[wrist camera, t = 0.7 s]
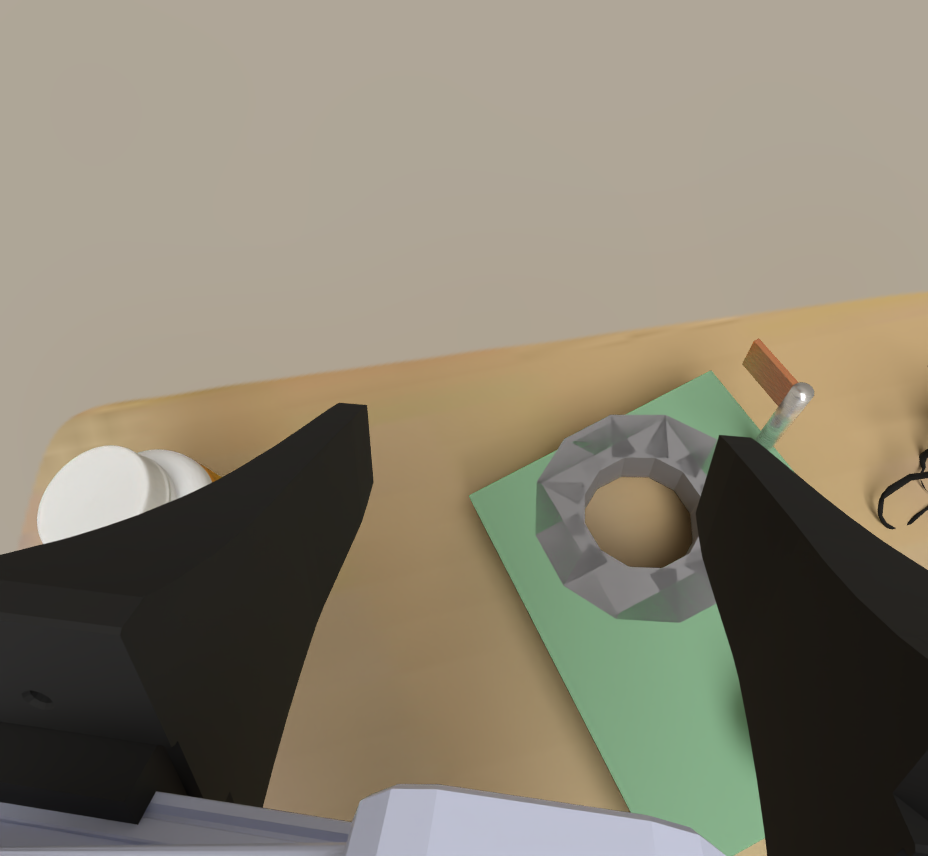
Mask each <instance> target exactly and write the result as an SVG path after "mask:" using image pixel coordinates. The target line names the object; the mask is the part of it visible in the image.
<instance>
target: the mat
mask: <svg viewBox="0 0 928 856" xmlns="http://www.w3.org/2000/svg"><path fill="white" fill-rule="evenodd" d="M760 432H761V431H760V430H759V428H758V427H757V426H756V425H755V424H754V422H753V421H752V420H751V419H750V417H749V416H748V415H747V414H746V413H745V411H744V410H743V409H742V408H741V406H740V405H739V404H738V403H737V402H736V400H735V399H734V398H733V397H732V395H731V394H730V393H729V392H728V391H727V389H726V388H725V387H724V386H723V384H722V383H721V382H720V381H719V380H718V378H717V377H716V376H715V375H714V373H713V372H712V371H709V372H707V373H705V374H703V375H701V376H699V377H697V378H695V379H693V380H691V381H689V382H687V383H686V384H684V385H682V386H680V387H678V388H676V389H674V390H672V391H670V392H668V393H666V394H664V395H662V396H660V397H658V398H656V399H655V400H653V401H651V402H649V403H647V404H645V405H643V406H641V407H639V408H637V409H635V410H633V411H631V412H629V413H627V414H626V415H610V416H608V417H606V418H604V419H602V420H600V421H598V422H596V423H594V424H592V425H590V426H588V427H586V428H584V429H582V430H580V431H579V432H577V433H575V434H573V435H571V436H569V437H567V438H565V439H564V440H563V442H562V443H561V445H560V446H559V448H558V449H557V450H556V451H554V452H552V453H550V454H548V455H546V456H544V457H542V458H540V459H538V460H537V461H535V462H533V463H531V464H529V465H527V466H525V467H523V468H521V469H519V470H517V471H515V472H513V473H511V474H509V475H508V476H506V477H504V478H502V479H500V480H498V481H496V482H494V483H492V484H490V485H488V486H486V487H484V488H482V489H480V490H479V491H477V492H475V493H473V494H471V495H469V497H470V499H471V501H472V503H473V505H474V507H475V509H476V511H477V513H478V515H479V517H480V519H481V521H482V523H483V525H484V527H485V529H486V531H487V533H488V535H489V537H490V539H491V541H492V543H493V544H494V546H495V548H496V550H497V552H498V554H499V556H500V558H501V560H502V562H503V564H504V566H505V568H506V570H507V572H508V574H509V576H510V578H511V580H512V582H513V584H514V585H515V587H516V589H517V591H518V593H519V595H520V597H521V599H522V601H523V603H524V605H525V607H526V609H527V611H528V613H529V615H530V617H531V619H532V621H533V623H534V625H535V626H536V628H537V630H538V632H539V634H540V636H541V638H542V640H543V642H544V644H545V646H546V648H547V650H548V652H549V654H550V656H551V658H552V660H553V662H554V664H555V666H556V667H557V669H558V671H559V673H560V675H561V677H562V679H563V681H564V683H565V685H566V687H567V689H568V691H569V693H570V695H571V697H572V699H573V701H574V703H575V705H576V707H577V708H578V710H579V712H580V714H581V716H582V718H583V720H584V722H585V724H586V726H587V728H588V730H589V732H590V734H591V736H592V738H593V740H594V742H595V744H596V746H597V748H598V749H599V751H600V753H601V755H602V757H603V759H604V761H605V763H606V765H607V767H608V769H609V771H610V773H611V775H612V777H613V779H614V781H615V783H616V785H617V787H618V789H619V790H620V792H621V794H622V796H623V798H624V800H625V802H626V804H627V806H628V808H629V810H630V812H631V813H636V814H643V815H649V816H652V817H656V818H659V819H663V820H666V821H670V822H673V823H677V824H680V825H684V826H687V827H690V828H692V829H693V830H694V831H696V832H697V833H698V834H700V835H701V836H702V837H703V838H705V839H706V840H707V841H709V842H710V843H711V844H712V845H714V846H715V847H716V848H717V849H719V850H720V851H721V852H722V853H723V854H725V855H726V856H734V855H735V854H737V853H739V852H741V851H743V850H744V849H746V848H748V847H750V846H751V845H753V844H755V843H757V842H758V841H760V840H762V839H764V838H765V833H764V826H763V819H762V812H761V805H760V798H759V791H758V784H757V778H756V772H755V766H754V760H753V754H752V748H751V742H750V736H749V730H748V725H747V719H746V714H745V709H744V704H743V699H742V694H741V689H740V683H739V678H738V674H737V670H736V667H735V663H734V659H733V655H732V652H731V649H730V645H729V642H728V639H727V636H726V633H725V630H724V626H723V623H722V620H721V617H720V614H719V610H718V607H717V604H716V601H715V598H714V595H713V591H712V588H711V585H710V582H709V578H708V575H707V572H706V568H705V565H704V562H703V558H702V553H701V547H700V542H699V535H698V528H697V521H696V514H695V513H696V510H697V507H698V503H699V500H700V497H701V493H702V490H703V487H704V483H705V480H706V477H707V474H708V470H709V467H710V464H711V460H712V457H713V454H714V450H715V447H716V444H717V441H718V437H719V435H727V436H739V437H751V438H753V439H754V440H755V439H756V438H757V436H758V435H759V433H760ZM770 452H771V453H772V454H773V455H774V456H775V457H777V458H778V459H779V460H780V461H781V462H783V463H784V464H785V465H786V466H787V467H789V468H790V466H789V465H788V464H787V463H786V461H785V460H784V459H783V458H782V457H781V455H780V454H779V453H778V452H777V450H776V449H775V448H774V447H773V448H772V449H771V450H770ZM790 469H791V468H790ZM791 470H792V469H791ZM792 471H793V470H792ZM793 472H794V471H793ZM794 473H795V472H794ZM619 477H649V478H651V479H653V480H655V481H657V482H659V483H661V484H663V485H664V486H666V487H668V488H670V489H672V490H674V491H675V493H676V494H677V496H678V497H679V498H680V500H681V501H682V503H683V504H684V506H685V507H686V508H687V510H688V511H689V513H690V515H691V528H692V540H693V542H692V544H691V546H690V548H689V549H688V551H687V553H686V555H685V556H684V557H682V558H680V559H678V560H676V561H674V562H673V563H671V564H669V565H667V566H665V567H663V568H645V567H629V566H627V565H625V564H623V563H622V562H620V561H618V560H617V559H615V558H613V557H612V556H610V555H608V554H607V553H605V552H603V551H601V550H600V548H599V546H598V545H597V543H596V541H595V540H594V538H593V536H592V535H591V533H590V531H589V530H588V528H587V526H586V525H585V508H586V506H587V505H588V503H589V501H590V500H591V498H592V497H593V495H594V493H595V492H596V490H597V489H598V488H600V487H602V486H604V485H606V484H608V483H610V482H611V481H613V480H615V479H617V478H619Z"/></svg>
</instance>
